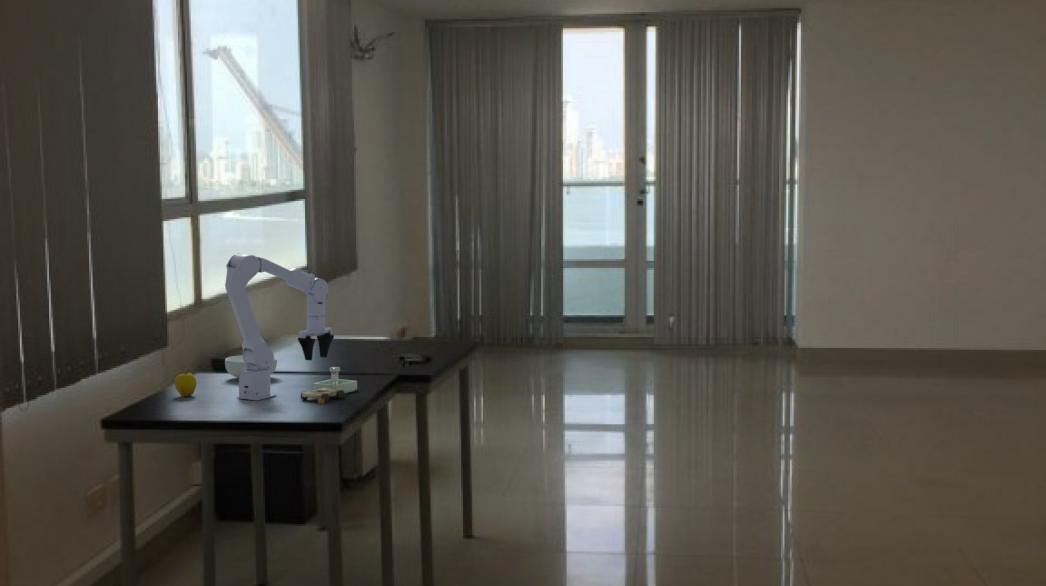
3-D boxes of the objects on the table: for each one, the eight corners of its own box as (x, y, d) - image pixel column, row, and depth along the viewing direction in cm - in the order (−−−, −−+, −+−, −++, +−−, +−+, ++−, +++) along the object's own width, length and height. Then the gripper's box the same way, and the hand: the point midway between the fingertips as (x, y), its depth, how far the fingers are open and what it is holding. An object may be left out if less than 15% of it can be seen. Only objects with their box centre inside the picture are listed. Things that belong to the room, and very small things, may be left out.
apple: (196, 394, 365) (195, 368, 364) (197, 397, 359) (196, 371, 358) (174, 395, 363) (174, 369, 362) (175, 398, 357) (174, 372, 356)
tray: (336, 395, 365) (336, 385, 364) (312, 392, 369) (312, 383, 368) (357, 390, 374) (357, 380, 374) (334, 387, 378) (334, 378, 378)
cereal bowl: (230, 384, 384) (229, 362, 383) (221, 376, 399) (220, 356, 398) (282, 381, 391) (281, 360, 390) (271, 374, 406) (271, 353, 405)
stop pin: (335, 390, 369) (335, 368, 368) (327, 390, 371) (327, 368, 370) (342, 389, 372) (341, 367, 371) (334, 388, 373) (333, 366, 373)
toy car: (321, 403, 350) (321, 395, 350) (297, 401, 354) (297, 392, 354) (345, 397, 361) (345, 389, 360) (322, 395, 365) (322, 386, 364)
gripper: (311, 318, 362) (311, 362, 363) (340, 314, 375) (340, 356, 376) (293, 317, 365) (293, 360, 367) (322, 313, 378) (322, 355, 379)
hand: (316, 358), depth 371 cm, fingers open, 7 cm apart
